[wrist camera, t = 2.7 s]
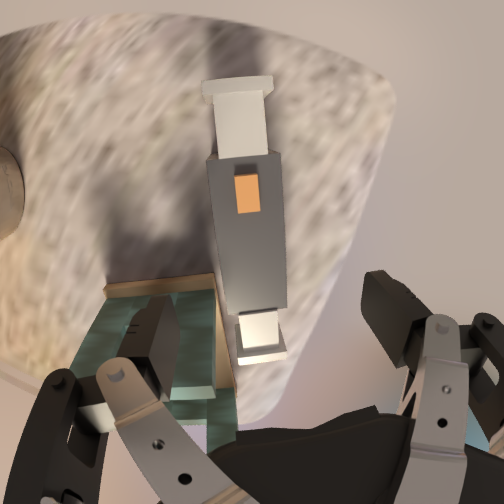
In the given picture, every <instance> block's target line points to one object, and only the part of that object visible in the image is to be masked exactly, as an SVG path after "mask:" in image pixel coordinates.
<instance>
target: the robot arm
mask: <svg viewBox="0 0 504 504" xmlns="http://www.w3.org/2000/svg"><path fill="white" fill-rule="evenodd" d="M23 206H24V188H23V180H22V176H21V172H20V169H19V167H18V164H17V162H16V161H15V159H14V157H13V156H12V155H11V153H10V152H9V151H8V150H6V149H4V148H3V147H0V241H1V240H3V239H4V238H6V237H7V236H9V235H10V234H12V233H13V232H14V231H15V229H16V228H17V227H18V225H19V222H20V220H21V217H22V213H23ZM361 312H362V315H363V317H364V319H365V320H366V322H367V323H368V325H369V326H370V328H371V329H372V331H373V333H374V334H375V336H376V337H377V339H378V340H379V342H380V343H381V345H382V347H383V348H384V350H385V351H386V353H387V354H388V356H389V358H390V359H391V361H392V362H393V364H394V366H395V367H396V368H400V367H403V366H406V365H407V366H408V368H409V369H408V371H407V374H406V379H405V383H404V387H403V392H402V395H401V400H400V403H399V407H398V410H397V413H396V414H389V413H379V412H378V410H377V408H376V406H375V405H373V406H370V407H367V408H363V409H360V410H356V411H352V412H349V413H345V414H343V415H341V416H339V417H336V418H334V419H332V420H330V421H328V422H326V423H324V424H322V425H319V426H317V427H315V428H313V429H287V428H264V429H255V430H244V431H235V434H236V440H235V441H232V442H229V443H226V444H224V445H221V446H219V447H217V448H216V449H214V450H212V451H211V452H209V453H208V454H205V453H204V452H203V451H202V450H201V449H200V448H199V446H198V445H197V444H196V443H195V442H194V441H193V440H192V439H191V437H190V436H189V435H188V434H187V433H186V432H185V430H184V429H183V428H182V427H181V425H180V424H179V423H178V422H177V421H176V419H175V418H174V417H173V416H172V414H171V413H170V412H169V410H168V409H167V408H166V407H165V405H164V404H163V403H162V402H170V396H171V389H172V383H173V377H174V371H175V365H176V360H177V354H178V349H179V343H180V327H179V323H178V320H177V316H176V312H175V309H174V305H173V301H172V298H171V296H170V295H169V294H168V295H155V296H151V298H150V300H149V302H148V305H147V307H146V308H143V309H140V310H139V311H138V312H137V313H136V314H135V315H134V316H133V317H132V319H131V321H130V324H129V327H128V328H127V331H126V334H125V335H124V338H123V340H122V342H121V345H120V347H119V349H118V352H117V354H116V357H115V358H112V359H110V360H107V361H106V362H104V363H103V364H102V365H101V366H100V367H99V368H98V370H97V372H96V375H93V376H88V377H83V378H78V379H77V378H76V376H75V375H74V373H73V372H72V371H71V370H69V369H65V368H62V369H58V370H55V371H53V372H52V373H50V374H49V375H48V376H47V377H46V379H45V380H44V382H43V385H42V387H41V389H40V391H39V393H38V396H37V398H36V400H35V403H34V405H33V407H32V410H31V413H30V415H29V417H28V420H27V422H26V426H25V428H24V430H23V433H22V436H21V439H20V442H19V445H18V448H17V451H16V454H15V457H14V460H13V464H12V467H11V471H10V475H9V478H8V483H7V487H6V491H5V496H4V501H3V504H98V500H99V491H100V483H101V476H102V469H103V463H104V457H105V451H106V445H107V440H108V435H109V432H111V431H118V433H119V435H120V437H121V439H122V441H123V442H124V444H125V446H126V448H127V449H128V451H129V453H130V454H131V456H132V458H133V460H134V461H135V463H136V464H137V466H138V468H139V469H140V471H141V472H142V474H143V475H144V477H145V478H146V480H147V481H148V482H149V484H150V485H151V487H152V488H153V490H154V491H155V493H156V494H157V495H158V497H159V498H160V499H161V500H160V501H159V502H158V503H157V504H504V325H503V324H502V323H501V322H500V321H499V320H498V319H497V318H496V317H494V316H493V315H491V314H488V313H478V314H476V315H475V317H474V319H473V322H472V324H471V325H458V324H457V322H456V321H455V320H454V319H452V318H451V317H449V316H446V315H443V314H433V313H432V312H431V311H430V310H429V309H428V308H427V307H426V306H425V305H424V304H423V303H422V302H421V301H420V300H419V299H418V298H416V296H415V295H414V294H413V293H412V292H411V291H410V290H409V289H408V288H407V287H406V286H405V285H404V284H403V283H401V282H399V281H397V280H395V279H392V278H391V277H390V276H389V275H388V274H387V273H386V272H385V271H384V270H378V271H371V272H367V273H366V274H365V277H364V284H363V291H362V298H361ZM487 358H489V360H490V361H491V362H492V363H493V365H494V366H495V367H496V369H497V370H498V372H499V382H498V384H497V385H496V386H495V384H494V383H493V381H492V380H491V378H490V377H489V376H488V374H487V373H486V371H485V370H484V369H483V365H484V363H485V361H486V360H487ZM468 405H469V407H470V408H471V410H472V412H473V414H474V415H475V417H476V419H477V421H478V423H479V424H480V426H481V428H482V430H483V432H484V434H485V436H486V438H487V440H488V442H489V451H488V452H485V451H483V450H480V449H478V448H475V447H473V446H470V445H468V444H465V437H466V428H467V416H468ZM71 425H73V426H72V429H71V433H70V436H69V441H68V444H67V439H68V435H69V432H70V428H71Z"/></svg>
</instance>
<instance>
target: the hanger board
mask: <svg viewBox="0 0 504 504" xmlns="http://www.w3.org/2000/svg"><path fill="white" fill-rule="evenodd" d="M103 292H104V295H105V297H106V301H105V303H104V304H103V306H102V308H101V309H100V311H99V313H98V315H97V316H96V318H95V320H94V322H93V324H92V325H91V327H90V329H89V331H88V333H87V335H86V336H85V338H84V340H83V342H82V344H81V346H80V348H79V350H78V352H77V354H76V356H75V358H74V360H73V362H72V364H71V366H70V368H69V370H71V371H72V372H73V373H74V375H75V376H76V378H77V379H78V378H83V377H88V376H93V375H96V372H97V370H98V368H99V367H100V366H101V365H102V364H103V363H104V362H106V361H107V360H110V359H112V358H115V357H116V354H117V352H118V349H119V347H120V345H121V342H122V340H123V338H124V335H125V334H126V331H127V328H128V327H129V324H130V321H131V319H132V317H133V316H134V315H135V314H136V313H137V312H138V311H139V310H140V309H143V308H146V307H147V305H148V302H149V300H150V298H151V296H155V295H168V294H169V295H170V296H171V298H172V301H173V305H174V309H175V312H176V316H177V320H178V323H179V327H180V343H179V349H178V354H177V360H176V365H175V371H174V377H173V383H172V389H171V396H170V402H162V403H163V404H164V405H165V407H166V408H167V409H168V410H169V412H170V413H171V414H172V416H173V417H174V418H175V419H176V421H177V422H178V423H179V424H180V425H207V454H208V453H209V452H211V451H212V450H214V449H216V448H217V447H219V446H221V445H224V444H226V443H229V442H232V441H235V440H236V434H235V431H238V420H237V408H236V398H237V390H236V386H235V381H234V376H233V372H232V367H231V362H230V357H229V352H228V347H227V342H226V337H225V332H224V327H223V321H222V316H221V311H220V305H219V299H218V294H217V288H216V282H215V276H214V273H208V274H199V275H190V276H181V277H172V278H162V279H153V280H143V281H134V282H124V283H114V284H106V286H105V287H104V289H103Z"/></svg>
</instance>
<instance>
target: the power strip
mask: <svg viewBox="0 0 504 504" xmlns="http://www.w3.org/2000/svg"><path fill="white" fill-rule="evenodd" d="M201 86H202V96H203V98H204V99H205V101H206V103H207V104H214V115H215V125H216V135H217V145H218V153H217V154H211V155H210V156H209V157H208V159H207V160H206V164H207V173H208V181H209V189H210V197H211V204H212V212H213V219H214V227H215V234H216V241H217V248H218V255H219V261H220V268H221V275H222V281H223V287H224V294H225V300H226V306H227V312H228V315H236V314H239V322H240V324H235V331H236V343H237V356H238V363H239V365H246V364H254V363H262V362H269V361H276V360H283V359H287V350H286V346H285V343H284V339H283V336H282V332H281V329H280V325H279V322H278V311H277V309H282V308H287V276H286V247H285V224H284V204H283V186H282V170H281V155H280V153H278V152H275V151H272V150H268V146H267V134H266V122H265V110H264V98H265V97H266V96H267V95H268V94H269V93H271V92H272V91H273V90H274V86H273V75H269V76H247V77H233V78H223V79H214V80H206V81H201Z"/></svg>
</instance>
